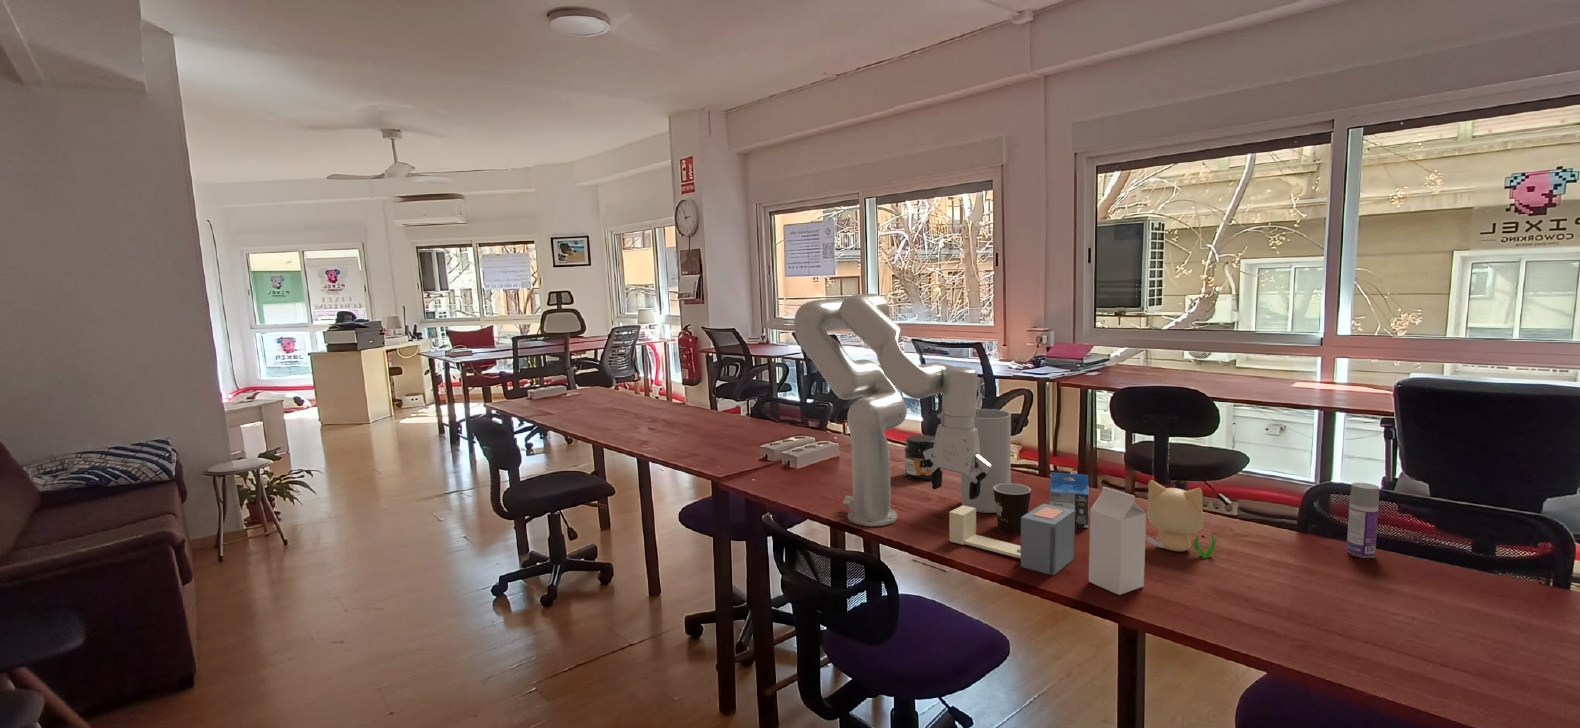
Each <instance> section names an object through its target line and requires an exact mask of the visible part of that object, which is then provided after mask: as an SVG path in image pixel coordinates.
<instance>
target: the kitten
mask: <svg viewBox="0 0 1580 728" xmlns="http://www.w3.org/2000/svg"><path fill="white" fill-rule="evenodd" d="M1147 488H1148V489H1147V490H1148V492H1147V503H1148V504H1147V508H1146V518H1147V519H1148V521H1149V523H1150V524H1151V525H1152V526H1154V527H1156V528H1157V529H1159V530H1160V532H1159V533H1158V534H1157V537H1156V539H1155V538H1154V537H1151V536H1150V535H1148V534H1147V533H1146V532H1145V542H1147V543H1149V544H1150V545H1152V546H1155V547H1158V548H1161V549H1165V550H1168V551H1170V552H1171V551H1172V552H1185V551H1188V550H1189V549H1190V548H1191V546H1192V540H1191V537H1190V535H1189V534H1195V533H1198V532H1200V530H1201V529H1202V528H1203V526H1204V521H1205V518H1204V513H1203V509H1204V506H1203V505H1204V504H1203V501H1204V500H1203V495H1204V494H1203V491H1202V488H1201V487H1197V488H1193V489H1189V490H1184V489H1181V488H1176V487H1168V488H1167V487H1165V486H1163V485H1161V484H1159V483H1158V482H1156V481H1155V480H1153V479H1151V480H1149V481H1148V485H1147ZM1193 543H1194V544H1193V545H1194V548H1195V550H1196V551H1197V552H1198V553H1199V556H1200V555H1201V556H1202V557H1201V558H1202V559H1207V558H1209V557H1211V558H1212V556H1211V554H1212V553H1213V551H1214V549H1215V547H1216V544H1217V541H1216V538H1215V536H1214V535H1213V534H1212V533H1211V544H1210V545H1209V547H1208V548H1207V550H1206V552H1205V551H1204V550H1203V549H1202V548H1201V547H1200V544H1199V535H1197V536H1196V537H1195V539H1194V542H1193ZM1212 555H1213V554H1212ZM1207 556H1209V557H1207Z"/></svg>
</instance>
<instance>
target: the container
mask: <svg viewBox="0 0 1580 728" xmlns="http://www.w3.org/2000/svg"><path fill="white" fill-rule="evenodd" d="M1349 498H1350V499H1349V506H1348V507H1349V508H1348V523H1347V525H1348V526H1347V537H1346V550H1347V551H1348V552H1349V553H1351V554H1354V555H1358V556H1359V557H1363V558H1373V559H1375V558H1374V557H1376V547H1377V535H1378V522H1379V504H1380V503H1379V502H1380V486H1378V485H1377V484H1372V483H1368V482H1367V483H1366V482H1353V483H1351V489H1350V497H1349Z"/></svg>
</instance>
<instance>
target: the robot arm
mask: <svg viewBox="0 0 1580 728" xmlns="http://www.w3.org/2000/svg"><path fill="white" fill-rule="evenodd" d="M889 315H890V307H889V303H888V302H887V300H886V299H885V298H884V297H883V296H882V295H880V294H877V293H862V294H859V293H858V294H854V295H853V294H852V295H850V296H848V297H839V298H827V299H826V298H825V299H815V300H812V301H807V302H805V303H803V304H802V305H801V306H800V307H799V308H798V309H797V310H796V313H795V315H794V319H793V331H794V335H795V337H796V340H797V343H798V344H799V347H801V349H802V350H803V351H804V353H806V355H807V356H808V357H809V359H810V360H811V361H812V362H813V364H814V366H815V367H816V369H817V370H818V372H819V373H820V375H821V377H823V379H824V380H825V382H826V383H827V385H828V387H830V389H831V390H832V392H833V394H835V396H837V398H839V399H841V400H847V401H848V400H853V399H857V400H856V401H854V402H853V403H852V404H851V405H850V407H849V409H848V411H847V415H846V417H847V418H846V419H847V427H848V430H849V434H850V441H851V461H852V496H850V495H846V496H845V497H844V500H843V501H842V505H843V506H846V507H849V511H848V512H847V519H848V521H849V522H851V523H853V524H855V525H858V524H859V526H862V525H863V526H862V527H881V526H887V525H888V526H889V525H890V524H893V523H895V522H896V520H897V519H898V514H897V512H896V511H895V510H893V509H892V508H891V507H892V505H891V501H892V499H891V457H890V456H891V454H890V453H891V452H890V451H891V450H890V445H889V442H888V440H887V436H886V433H885V432H886V431H888V430H890V429H893V428H896V427H898V426H900V425H902V423H903V422H904V421H905V420H906V417H907V410H908V408H907V405H906V402H905V400H904V398H903V396H902V394H901V393H900V392H902V393H903V394H904V395H905V396H907V397H909V398H912V399H914V400H920V399H924V398H927V397H931V396H936V395H940V394H941V395H942V402H941V403H942V404H941V412H938V413H937V415H936V416H937V417H936V418H937V419H940V423H939V424H938V425H937V427H936V431H935V435H934V437H935V440H934V447H933V448H931V449H928V450H926V451H923V454H924V457H925V459H926V463H927V465H928V466H929V468H930V471H931V472H932V480H931V484H932V485H931V489H933V490H938V488H941V487H942V486H943V485H942V484H943V470H947V471H951V472H953V473H959V474H961V473H962V474H968V475H969V476H970V478H971V480H972V482H970V491H969V498H970V499H972V500H973V499H975V498H977V497H978V496H979V494H980V482H981V480H983V479H984V478H985V477H987V476H988V474H989V472H990V471H991V469H992V465H991V464H990V463H988V462H987V461H986V460H985V459H983V458H982V457H981V456H980V445H979V436H978V430H977V428H975V417H976V409H977V393H978V392H977V391H978V373H977V371H976V370H975V369H974V368H972V367H968V366H955V365H954V366H953V365H949V364H946V363H943V362H937V361H932V362H927V363H923V364H918V365H917V364H916V363H915V362H914V361H913V360H912V359H910V357H908V355H906V354H905V352H904V351H902V349H901V347H900V345H899V342H900V341H901V339H902V335H903V331H902V329H901V326H899V325H898V324H897V323H896V322H894V321H893V320H892V319H891V318H889ZM840 330H842V331H843V330H850V331H851V332H853V333H854V334H855V335H856V336H857V337H858V338H859V339H861V341H862V342H863V343H864V344H865V345H867V346H868V348H870V350H872V351H873V352H874V353H875V354H876V358H877V363H878V364H879V365H878V364H877V363H876V362H874V361H872V360H870V359H858V360H854V359H852V358H851V357H850V356H849V354H848V353H847V352H846V351H845V349H844V347H843V346H842V345H841V344H840V342H838V341H837V340H836V339H835V338H833V337H832V336H830V335H829V333H828V332H834V331H840ZM898 390H899V391H900V392H899V391H898ZM860 397H861V398H860ZM858 398H859V399H858ZM932 454H933V458H932ZM979 465H981V466H982V467H983V470H982V472H981V473H980V472H979V470H978V468H979ZM941 469H943V470H941Z"/></svg>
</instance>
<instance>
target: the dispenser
mask: <svg viewBox="0 0 1580 728" xmlns="http://www.w3.org/2000/svg"><path fill="white" fill-rule="evenodd" d="M1075 542H1076V527H1075V510H1072V509H1067V508H1062V507H1057V506H1053V505H1049V503H1048V504H1047V503H1042V504H1040V505H1039V506H1037V507H1035V508H1033V509H1032V510H1029V511H1028V513H1027V514H1026V515H1024V516H1022V517H1021V533H1020V546H1021V547H1020V548H1019V549H1017V552H1018V553H1021V559H1020V568H1025V569H1029V570H1032V571H1035V572H1038V573H1039V572H1040V573H1043V574H1046V575H1048V576H1049V575H1051V576H1052V577H1053V576H1055V575H1056V574H1057V573H1058V572H1060V571H1061V570H1062V569H1063V568H1064V567H1067V565H1068V564H1069V563H1071V562H1073V560H1074V559H1075V556H1076V555H1075V554H1076V553H1075V548H1076V547H1075V544H1076V543H1075Z"/></svg>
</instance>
